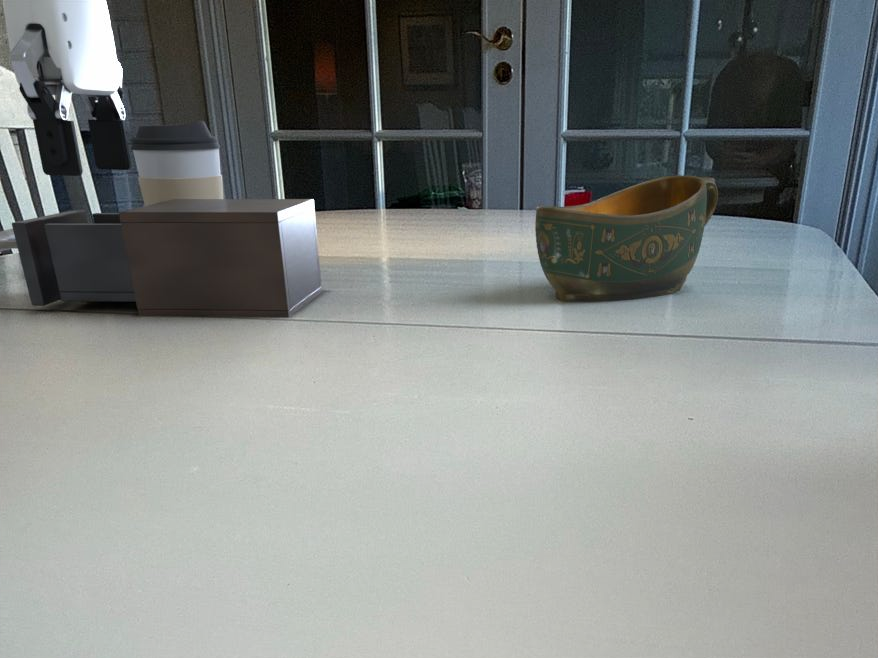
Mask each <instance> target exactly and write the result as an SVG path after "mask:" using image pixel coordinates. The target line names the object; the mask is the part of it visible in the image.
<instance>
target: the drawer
mask: <svg viewBox="0 0 878 658" xmlns="http://www.w3.org/2000/svg"><path fill="white" fill-rule="evenodd" d="M86 213H87V212H86V210H85V209H73V210H67V211H62V212H58V213H53V214H48V215H44V216H43V215H42V216H39V217H34V218H30V219H29V218H28V219H24V220H23V219H22V220H18V221H14V222H12V223H11V227H12V228H9V229H4V230H0V252H4V251H7V250H12V249H13V250H14V249H16V250H18V254H19V259H20V263H21V267H22V271H23V275H24V279H25V284H26V288H27V291H28V296H29V299H30V303H31V306H32V307H46V306H47V305H50V304H53V303H56V302H57V301H62V302H105V303H107V302H114V303H116V302H117V303H118V302H120V303H122V302H123V303H125V302H126V303H131V302H132V303H136V299H135V294H134V289H133V284H132V279H131V273H130V268H129V263H128V258H127V252H126V247H125V242H124V237H123V232H122V226H121V221H120V216H119V212H95V213H94V212H93V213H91V216H92V222H93V223H88V218H87V214H86Z"/></svg>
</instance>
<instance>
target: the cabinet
mask: <svg viewBox="0 0 878 658" xmlns="http://www.w3.org/2000/svg"><path fill="white" fill-rule="evenodd" d="M118 213H119V216H120V221H121V226H122V232H123V237H124V242H125V247H126V252H127V258H128V263H129V268H130V273H131V279H132V284H133V289H134V294H135V299H136V302H135V304H136V309H137V315H138V316H139V317H195V318H196V317H200V318H201V317H202V318H203V317H205V318H206V317H208V318H210V317H212V318H213V317H214V318H225V317H226V318H290V317H292V316H293V315H295V313H297V312H298V311H300V310H301V309H302V308H303V307H305V306H306V305H307V304H308V303H310V302H312V301H313V300H314V299H316V298H317V297H318V296H319V295H321V294H322V293H323V286H322V277H321V276H322V275H321V266H320V252H319V243H318V233H317V221H316V209H315V200H314V198H223V199H173V200H169V201H165V202H160V203H156V204H152V205H147V206H145V205H143V206H140V207H135V208H130V209H125V210H121V211H119V212H118Z"/></svg>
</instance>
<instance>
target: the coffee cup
mask: <svg viewBox="0 0 878 658" xmlns="http://www.w3.org/2000/svg"><path fill="white" fill-rule="evenodd" d="M130 141H131V146H130V148H129V151H132V152H133V157H134V160H135V164H136V169H137V173H138V176H137V180H138V185H139V188H140V192H141V196H142V200H143V204H144V206H147V205H152V204H156V203H160V202H165V201H169V200H173V199H224V185H223V184H224V183H223V175H222V174H221V160H220V149H221V146H220V144H219V143H218V137H217V136H215V135H214V136H213V135H212V134H211V132H210V130H209V128H208V127H207V124H206V123H205V121H204V120H194V121H192V122H190V124H163V125H162V124H161V125H160V124H159V125H157V124H156V125H139V126H138V129H137V133H136V136H135V137H131V140H130Z"/></svg>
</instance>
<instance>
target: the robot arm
mask: <svg viewBox="0 0 878 658" xmlns="http://www.w3.org/2000/svg"><path fill="white" fill-rule="evenodd" d="M2 6H3V15H4V19H5V27H6V34H7V39H8V47H9V51H10V52H9V55H8V56H9V61H10V64H11V67H12V70H13V72H14V77H15V81H16V82H17V85H18V86H19V88H18V89H19V92H20V94H21V96H22V97H23V99H24V101H25V102H26V104H27V106H26V109H27V114H28V117H29V118H30V119H31V120H32V123H33V128H34V133H35V139H36V143H37V147H38V153H39V158H40V163H41V168H42V171H43V173H44V174H45V175H46V176H60V177H61V176H63V177H81V176H82V175H83V173H84V169H83V165H82V160H81V153H80V149H79V143H78V137H77V132H76V131H77V130H76V125H75V121H74V120H68V117H69V113H70V112H69V111H70V106H71V100H72V94H76V95H81V97H82V100H83V102H84V104H85V105H86V107H87V109H88V111H89V113H90V115H91V118H92V119H87V123H88V128H89V129H88V130H89V135H90V140H91V145H92V153H93V156H94V157H93V158H94V163H95V167H96V168H97V169H98V170H109V171H112V170H113V171H128V170H131V169H132V160H131V154H130V147H129V142H128V141H129V140H128V135H127V129H126V122H125V120H126V110H125V108H124V105H123V102H124V98H125V95H124V94H125V92H124V90H123V68H122V66H121V63H120V62H119V61H118V57H117V50H116V45H115V39H114V33H113V28H112V23H111V18H110V13H109V9H108V4H107V0H2ZM54 96H55V97H54Z"/></svg>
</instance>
